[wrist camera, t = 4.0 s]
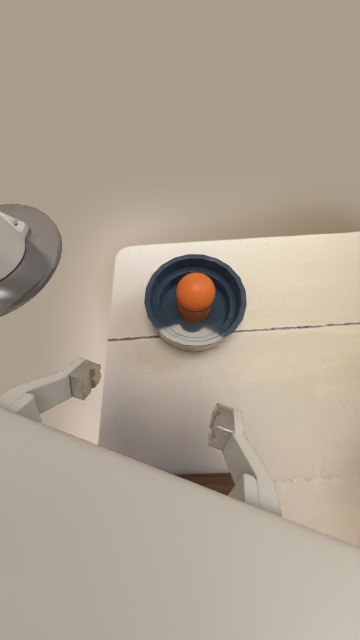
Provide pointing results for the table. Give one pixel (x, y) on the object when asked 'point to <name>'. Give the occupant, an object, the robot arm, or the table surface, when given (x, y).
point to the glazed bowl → (222, 313)
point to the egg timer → (195, 297)
